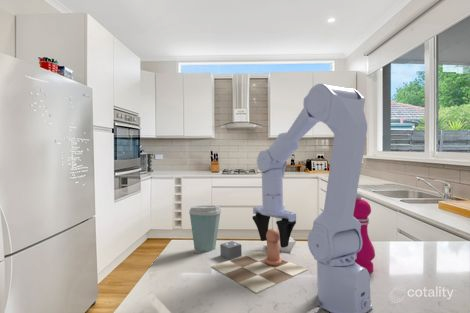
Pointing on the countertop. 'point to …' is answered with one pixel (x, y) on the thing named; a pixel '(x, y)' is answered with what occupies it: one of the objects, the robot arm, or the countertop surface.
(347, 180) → the robot arm
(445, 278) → the countertop surface
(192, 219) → the disposable coffee cup
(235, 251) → the die
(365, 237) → the pepper mill
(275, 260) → the pawn
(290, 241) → the figurine
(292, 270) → the board
